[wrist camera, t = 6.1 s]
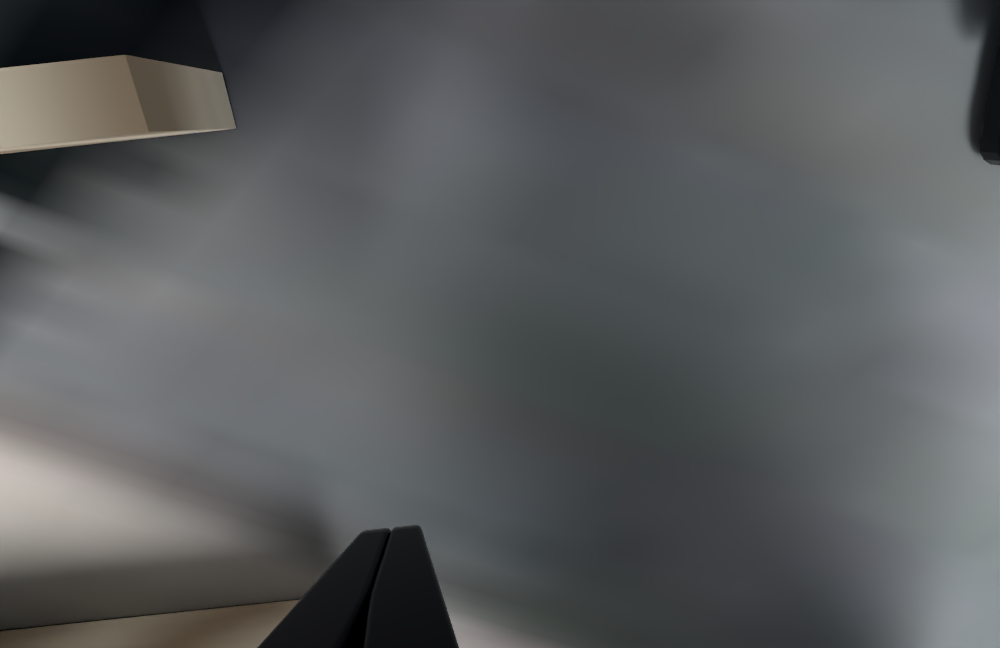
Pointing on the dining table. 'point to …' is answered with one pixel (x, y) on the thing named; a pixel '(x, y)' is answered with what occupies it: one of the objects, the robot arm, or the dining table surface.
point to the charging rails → (101, 119)
